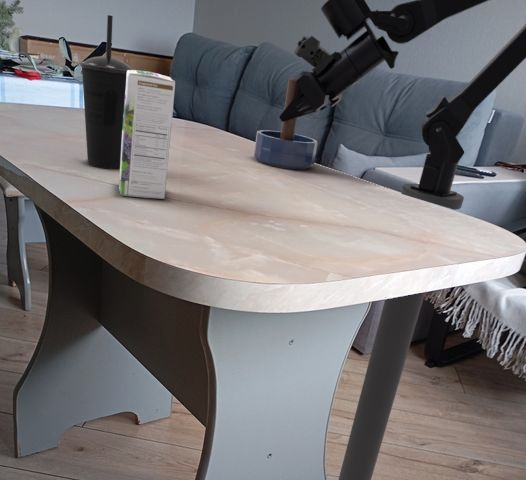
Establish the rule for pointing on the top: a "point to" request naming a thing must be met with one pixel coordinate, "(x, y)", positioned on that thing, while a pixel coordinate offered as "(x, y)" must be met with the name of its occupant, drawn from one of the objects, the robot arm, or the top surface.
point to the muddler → (288, 125)
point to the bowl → (285, 150)
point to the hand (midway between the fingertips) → (282, 118)
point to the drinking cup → (104, 105)
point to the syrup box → (146, 134)
